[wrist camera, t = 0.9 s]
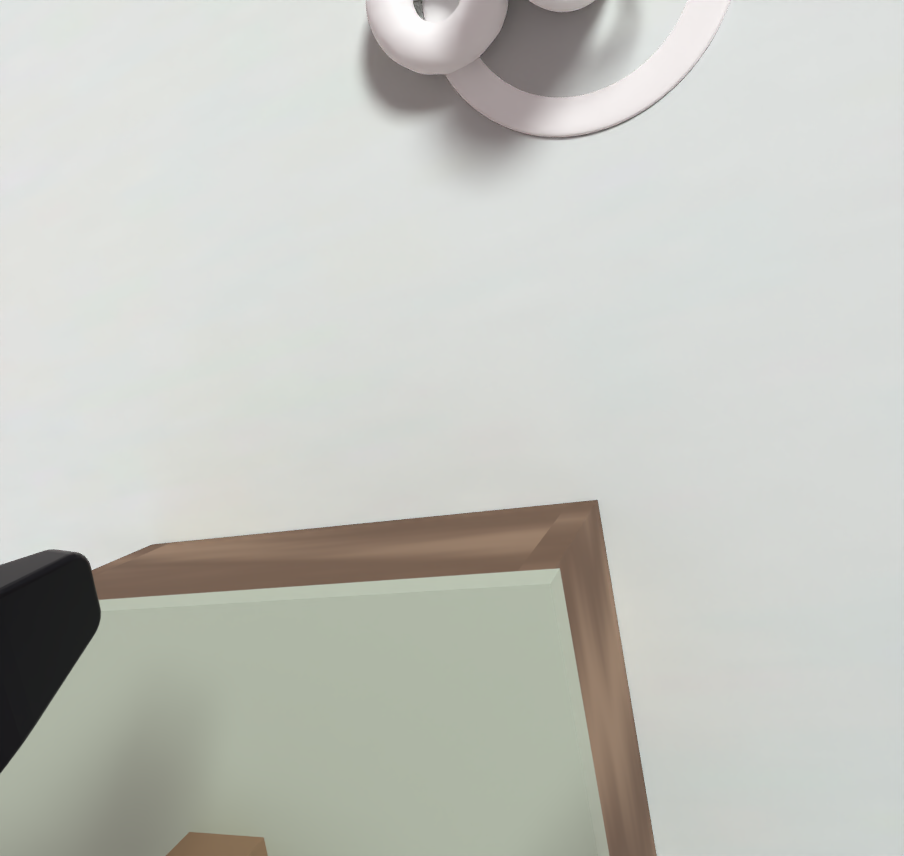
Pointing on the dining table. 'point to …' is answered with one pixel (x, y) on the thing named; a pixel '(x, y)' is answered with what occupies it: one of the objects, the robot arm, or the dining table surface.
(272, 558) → the bread box
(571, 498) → the dining table surface
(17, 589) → the robot arm
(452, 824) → the lid
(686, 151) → the dining table surface
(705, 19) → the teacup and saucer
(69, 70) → the dining table surface
